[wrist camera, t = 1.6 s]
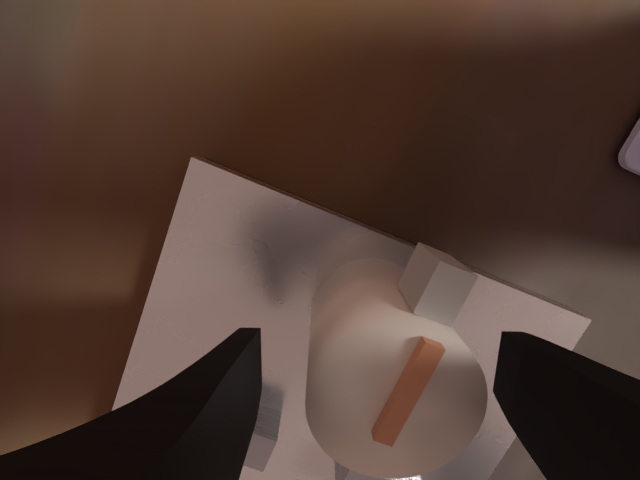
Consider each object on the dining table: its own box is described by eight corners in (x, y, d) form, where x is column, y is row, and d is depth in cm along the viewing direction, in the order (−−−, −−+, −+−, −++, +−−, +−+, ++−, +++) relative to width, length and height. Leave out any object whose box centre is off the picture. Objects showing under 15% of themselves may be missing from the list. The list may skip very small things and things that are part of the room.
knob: (396, 379, 14) (440, 510, 9) (293, 341, 14) (276, 456, 8) (464, 250, 13) (562, 316, 8) (353, 204, 12) (377, 240, 7)
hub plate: (573, 309, 14) (624, 340, 12) (387, 602, 18) (398, 670, 16) (200, 156, 13) (173, 157, 10) (87, 510, 17) (48, 570, 14)
